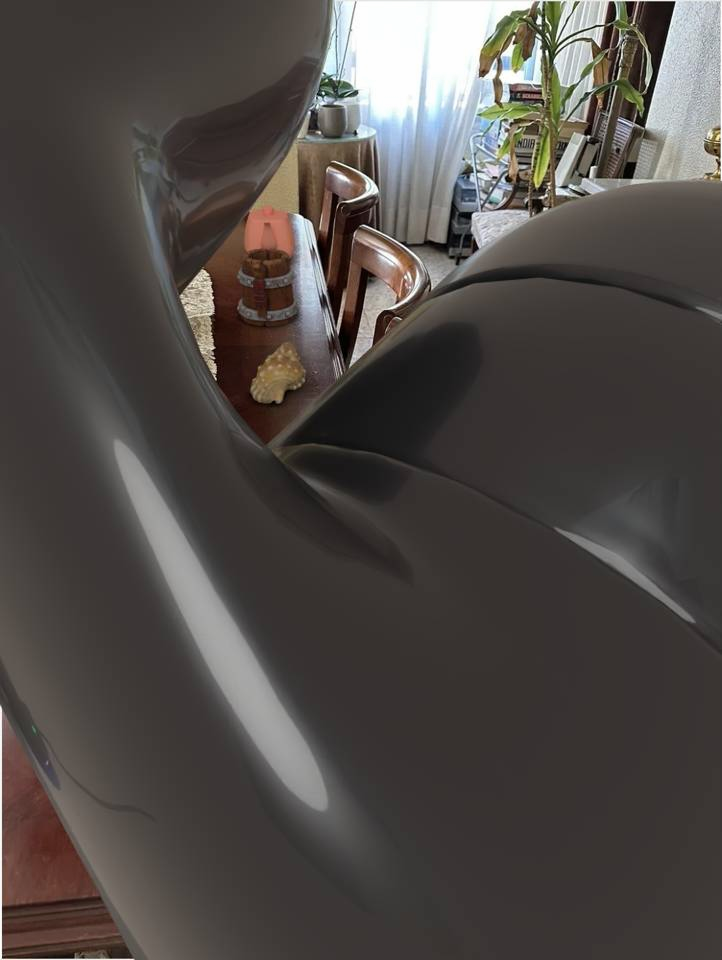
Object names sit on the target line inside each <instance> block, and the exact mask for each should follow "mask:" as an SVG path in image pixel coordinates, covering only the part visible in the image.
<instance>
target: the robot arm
mask: <svg viewBox="0 0 722 960" xmlns="http://www.w3.org/2000/svg"><path fill="white" fill-rule="evenodd" d="M334 9H335V0H0V708H1V710H2V711H3V714H4V715H5V718H6V719H7V721H8V723H9V725H10V727H11V729H12V732H14V734H15V736H16V738H17V740H18V742H19V744H20V746H21V748H22V750H23V752H24V754H25V756H26V757H27V760H28V761H29V763H30V765H31V767H32V769H33V771H34V773H35V775H36V777H37V779H38V781H39V782H40V785H41V786H42V788H43V790H44V792H45V794H46V797H47V798H48V800H49V802H50V803H51V806H52V808H53V809H54V811H55V813H56V815H57V817H58V819H59V821H60V823H61V825H62V827H63V829H64V830H65V833H66V835H67V836H68V839H69V840H70V842H71V844H72V846H73V848H74V850H75V852H76V853H77V856H78V857H79V859H80V861H81V863H82V865H83V867H84V868H85V870H86V872H87V875H88V877H89V878H90V880H91V882H92V883H93V886H94V887H95V889H96V892H97V893H98V895H99V897H100V898H101V901H102V903H103V904H104V907H105V908H106V910H107V912H108V913H109V915H110V918H111V919H112V921H113V923H114V924H115V926H116V928H117V930H118V932H119V934H120V936H121V938H122V940H123V941H124V943H125V945H126V947H127V949H128V950H129V951H128V952H129V953H130V954H131V956H132V958H133V960H722V180H719V179H716V180H715V179H701V178H698V179H695V178H694V179H666V180H659V181H650V182H643V183H642V182H641V183H634V184H629V185H624V186H620V187H614V188H610V189H606V190H601V191H598V192H595V193H591V194H588V195H585V196H580V197H577V198H574V199H570V200H567V201H565V202H562V203H560V204H558V205H556V206H553V207H551V208H548V209H545V210H543V211H540V212H537V213H536V214H535V215H533V216H530V217H529V218H526V219H525V220H523V221H521V222H518V223H516V224H515V225H513V226H512V227H510V228H509V229H508V230H506V231H504V232H503V233H501V234H500V235H498V236H496V237H495V238H493V239H492V240H491V241H488V242H487V243H486V244H484V245H482V246H481V247H479V248H478V249H477V250H476V251H474V253H472V254H471V255H470V256H468V257H467V258H466V259H465V260H464V261H462V262H461V263H459V265H457V266H456V267H455V268H454V269H453V270H451V271H450V272H449V273H448V274H447V275H446V276H445V277H444V278H443V279H442V280H441V281H440V282H438V284H437V285H435V286H434V288H432V289H431V290H430V291H429V292H427V294H426V295H425V296H424V297H422V298H421V300H419V301H418V302H417V303H416V304H415V305H414V306H413V307H412V308H411V309H410V310H409V311H408V312H407V313H406V314H404V315H403V317H402V318H401V319H400V320H399V321H398V322H397V323H396V324H394V325H393V326H392V327H391V328H390V329H389V330H387V332H386V333H384V334H383V335H382V336H381V337H380V338H379V339H378V340H377V341H376V342H374V344H373V345H372V346H370V347H369V348H368V349H367V350H366V351H365V352H364V353H362V355H361V356H360V357H359V358H358V359H357V360H356V361H355V362H354V363H353V364H352V365H350V366H349V367H348V368H347V369H346V370H345V371H344V372H343V373H342V374H341V375H340V376H339V377H337V379H336V380H334V381H333V382H332V383H331V384H330V385H329V386H328V387H326V389H325V390H324V391H322V393H320V394H319V395H318V396H317V397H316V398H315V399H314V400H313V401H312V402H311V403H310V404H309V405H308V406H307V407H305V409H304V410H302V411H301V412H300V413H299V414H298V415H297V416H296V417H295V418H293V420H292V421H290V423H288V424H287V426H285V427H284V428H283V429H282V430H281V431H280V432H279V433H278V434H277V435H276V436H275V437H274V438H272V439H271V440H270V442H268V443H267V444H266V443H265V442H264V441H263V440H262V438H260V436H259V435H258V434H257V433H256V432H255V431H254V429H252V427H251V426H250V425H249V424H248V423H247V422H246V421H245V419H244V418H242V416H241V415H240V413H238V411H237V410H236V408H235V407H234V406H233V403H232V402H231V401H230V400H229V398H228V396H227V395H226V394H225V392H224V391H223V390H222V388H221V387H220V385H219V384H218V382H217V380H216V378H215V376H214V374H213V373H212V370H211V368H210V367H209V365H208V364H207V361H206V359H205V358H204V356H203V354H202V351H201V348H200V345H199V344H198V341H197V339H196V336H195V333H194V330H193V328H192V325H191V323H190V320H189V317H188V314H187V311H186V309H185V306H184V303H183V301H182V298H181V296H182V294H183V293H184V292H185V290H187V288H188V287H189V286H190V284H191V283H192V282H193V281H194V280H195V278H196V277H197V276H198V275H199V273H200V272H201V271H202V270H203V269H204V267H205V266H206V265H207V264H208V263H209V261H210V260H211V259H212V257H213V256H214V255H215V254H216V253H217V252H218V250H219V249H220V248H221V247H222V246H223V244H224V243H225V242H226V241H227V240H228V239H229V237H230V236H231V235H232V233H233V232H234V231H235V230H236V229H237V228H238V226H239V225H240V224H241V223H242V221H243V220H244V219H245V218H246V216H248V215H249V214H250V212H251V211H252V208H253V207H254V206H255V204H256V202H257V201H258V200H259V198H260V197H261V195H262V194H263V193H264V190H265V189H266V188H267V187H268V185H269V184H270V182H271V181H272V179H273V178H274V177H275V175H276V173H277V172H278V171H279V170H280V167H281V166H282V164H283V163H284V161H285V159H286V158H287V156H288V155H289V153H290V151H291V149H292V148H293V146H294V143H295V142H296V140H297V138H298V136H299V135H300V133H301V130H302V127H303V125H304V123H305V121H306V118H307V117H308V114H309V112H310V109H311V107H312V105H313V102H314V101H315V98H316V95H317V92H318V89H319V86H320V84H321V82H322V77H323V74H324V69H325V65H326V62H327V57H328V52H329V47H330V43H331V36H332V30H333V24H334Z"/></svg>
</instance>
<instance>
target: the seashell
mask: <svg viewBox="0 0 722 960" xmlns="http://www.w3.org/2000/svg"><path fill="white" fill-rule="evenodd" d="M306 376H307V371H306V369H305V367H304V366H303V365H302V363H301V357H300V356H299V354H298V352H297V349H296V348H295V345H294V344H293V343H292V342H284V343H282V344H281V345H280V346H278V347H277V349H276V350H275V351H274V353H273V354H271V355H268V356H267V357H266V359H265V360H264V362H263V364H259V366H258V367H257V373H256V376H255V378H253V379H252V381H251V386H250V393H251V396H252V398H253V400H254V401H256V402H258V403H261V404H271V403H272V402H273V401H274V402H275V403H276V404H278V405H279V404H281V403H282V402H283V401H284V397H285V393H286V391H288V390H289V391H296V390H298V389H300V388H301V387H302V386H303V385H304V384H305V382H306Z"/></svg>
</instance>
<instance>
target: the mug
mask: <svg viewBox="0 0 722 960" xmlns="http://www.w3.org/2000/svg"><path fill="white" fill-rule="evenodd" d="M240 257H241V267H240V269H239V270H238V275H237V277H236V278H237V280H238V281H239V283H240V284H241V299H239V302H238V306H237V307H236V309H237V311H238V312H239V314H240V316H241V319H242V320H243V321H244V322H246V323H247V324H249V325H252V326H256V327H257V326H258V327H264V326H266V327H277V326H283V325H286V324H289V323H290V322H292V321H294V320H295V319H296V317H297V313H298V312H299V309H300V305H299V303H298V302H299V301H298V300H297V299H296V297H294V290H293V282H294V280H295V278H296V277H297V276H296V273H295V271H294V269H293V267H291V262H290V259H289V255H288V254H287V253H286V252H284V251H282V250H278V249H270V250H268V249H254V250H250V251H249V252H246V251H245V252H243V253H242V255H241V256H240Z"/></svg>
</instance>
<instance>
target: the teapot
mask: <svg viewBox="0 0 722 960" xmlns="http://www.w3.org/2000/svg"><path fill="white" fill-rule="evenodd" d="M274 208H275V207H274V206H272V205H263V206H262V207H261V209H253V210H250V211H249V213H248V215H247V221H246V224H245V229H244V236H243V237H244V238H243V239H244V240H243V241H244V242H243V244H244V245H243V247H244V250H245V252H249V251H250V250H254V249H268V250H270V249H278V250H282V251H284V252H286V253H287V254H288V255H289V260H290V259H291V258H292V256H293V254H294V251H295V249H296V240H295V233H294V229H293V226H292V223H291V220H290V218H289V215H288V213H287V212H286V210H284V209H274Z"/></svg>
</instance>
